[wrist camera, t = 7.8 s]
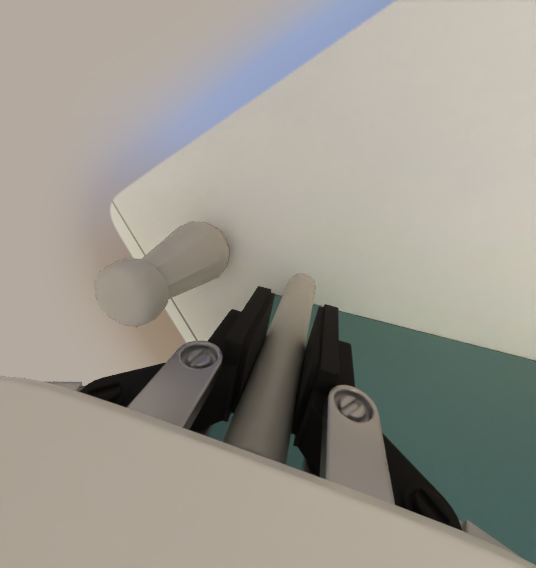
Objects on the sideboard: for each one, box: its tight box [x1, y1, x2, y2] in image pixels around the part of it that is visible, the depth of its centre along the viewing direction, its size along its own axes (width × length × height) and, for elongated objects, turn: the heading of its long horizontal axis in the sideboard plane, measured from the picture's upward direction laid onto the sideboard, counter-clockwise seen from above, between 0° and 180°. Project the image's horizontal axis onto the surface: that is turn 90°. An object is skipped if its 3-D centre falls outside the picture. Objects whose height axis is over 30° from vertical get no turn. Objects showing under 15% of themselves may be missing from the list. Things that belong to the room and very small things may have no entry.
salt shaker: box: [95, 221, 229, 327], centre depth 22 cm, size 6×6×13 cm
